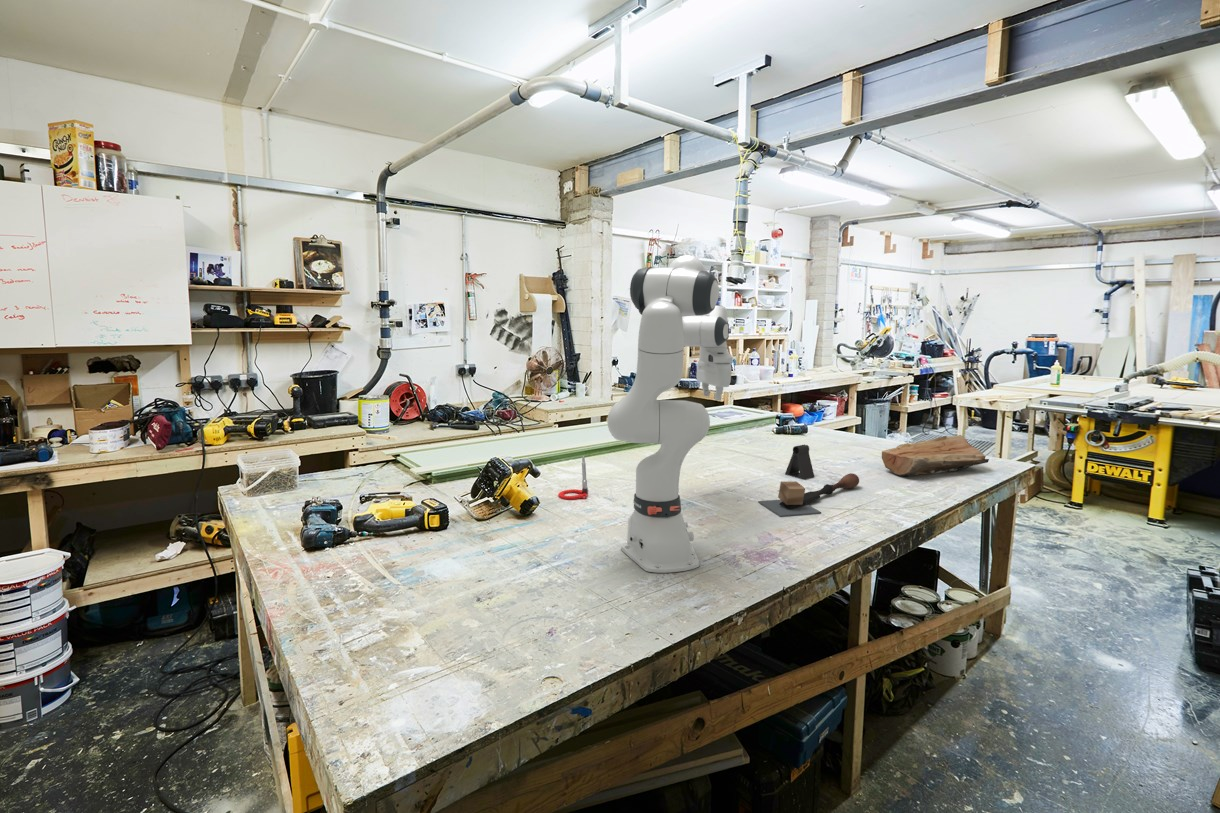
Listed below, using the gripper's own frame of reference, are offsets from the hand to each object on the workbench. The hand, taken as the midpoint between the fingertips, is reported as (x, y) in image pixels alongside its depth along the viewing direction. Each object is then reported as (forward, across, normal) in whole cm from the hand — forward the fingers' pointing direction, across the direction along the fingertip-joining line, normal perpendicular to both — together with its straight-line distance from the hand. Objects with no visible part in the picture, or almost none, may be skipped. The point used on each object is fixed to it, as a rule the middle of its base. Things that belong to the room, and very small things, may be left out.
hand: (711, 397), depth 186 cm
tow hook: (+34, -10, -45) cm, 57 cm away
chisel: (+34, +9, +38) cm, 51 cm away
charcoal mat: (+34, +16, +20) cm, 43 cm away
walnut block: (+31, +16, +21) cm, 41 cm away
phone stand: (+34, -17, +44) cm, 58 cm away
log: (+34, -12, +101) cm, 107 cm away
